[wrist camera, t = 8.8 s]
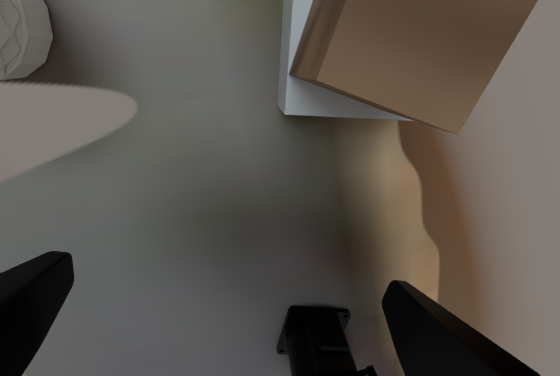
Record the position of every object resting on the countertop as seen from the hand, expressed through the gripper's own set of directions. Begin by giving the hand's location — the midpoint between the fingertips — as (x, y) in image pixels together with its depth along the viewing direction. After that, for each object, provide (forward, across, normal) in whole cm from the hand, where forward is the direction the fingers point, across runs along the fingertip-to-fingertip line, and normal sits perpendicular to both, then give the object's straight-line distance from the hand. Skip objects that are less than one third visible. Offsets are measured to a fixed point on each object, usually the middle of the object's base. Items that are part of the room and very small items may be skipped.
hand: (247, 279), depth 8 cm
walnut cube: (+9, -5, -8) cm, 13 cm away
